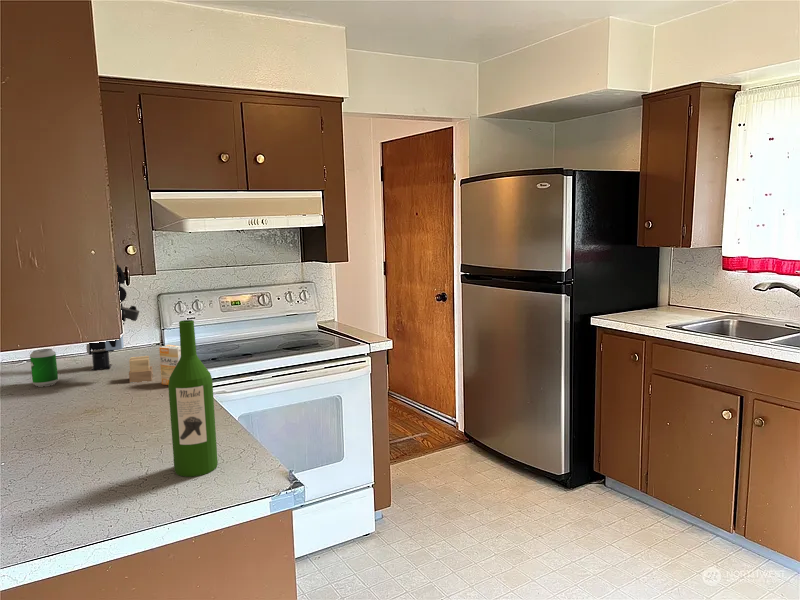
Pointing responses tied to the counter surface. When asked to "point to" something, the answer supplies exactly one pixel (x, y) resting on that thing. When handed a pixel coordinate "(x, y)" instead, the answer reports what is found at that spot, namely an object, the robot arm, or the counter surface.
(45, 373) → the soda can
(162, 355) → the supplement box
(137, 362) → the oak block
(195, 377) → the wine bottle
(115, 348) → the blue cube
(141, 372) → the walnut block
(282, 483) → the counter surface
